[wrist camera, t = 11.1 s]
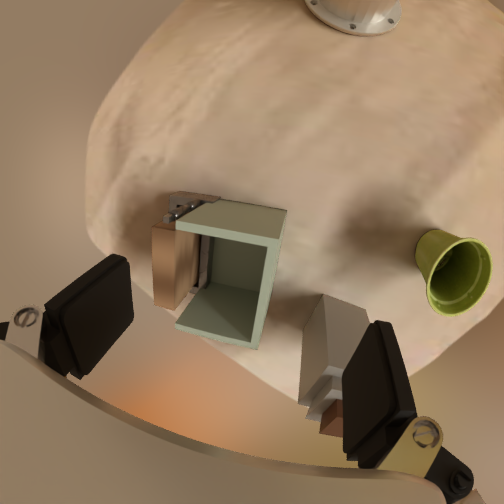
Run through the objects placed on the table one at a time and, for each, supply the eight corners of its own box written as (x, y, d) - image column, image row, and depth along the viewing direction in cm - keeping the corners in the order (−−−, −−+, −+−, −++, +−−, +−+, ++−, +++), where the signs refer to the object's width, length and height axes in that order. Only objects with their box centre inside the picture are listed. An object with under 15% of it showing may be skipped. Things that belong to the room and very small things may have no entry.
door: (185, 204, 34) (144, 225, 25) (209, 208, 34) (174, 231, 24) (182, 266, 37) (147, 302, 28) (204, 271, 37) (174, 310, 28)
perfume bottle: (302, 330, 38) (294, 437, 21) (323, 293, 35) (329, 402, 18) (342, 344, 37) (352, 447, 21) (365, 309, 35) (392, 414, 18)
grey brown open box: (180, 190, 33) (131, 208, 23) (220, 195, 33) (183, 217, 23) (176, 277, 38) (138, 318, 28) (212, 285, 38) (181, 332, 28)
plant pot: (425, 295, 32) (448, 330, 24) (389, 252, 31) (412, 283, 23) (469, 250, 29) (501, 276, 21) (437, 202, 28) (472, 219, 20)
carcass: (214, 198, 33) (176, 220, 23) (287, 210, 32) (278, 239, 22) (207, 282, 38) (175, 328, 27) (270, 296, 37) (257, 349, 26)
